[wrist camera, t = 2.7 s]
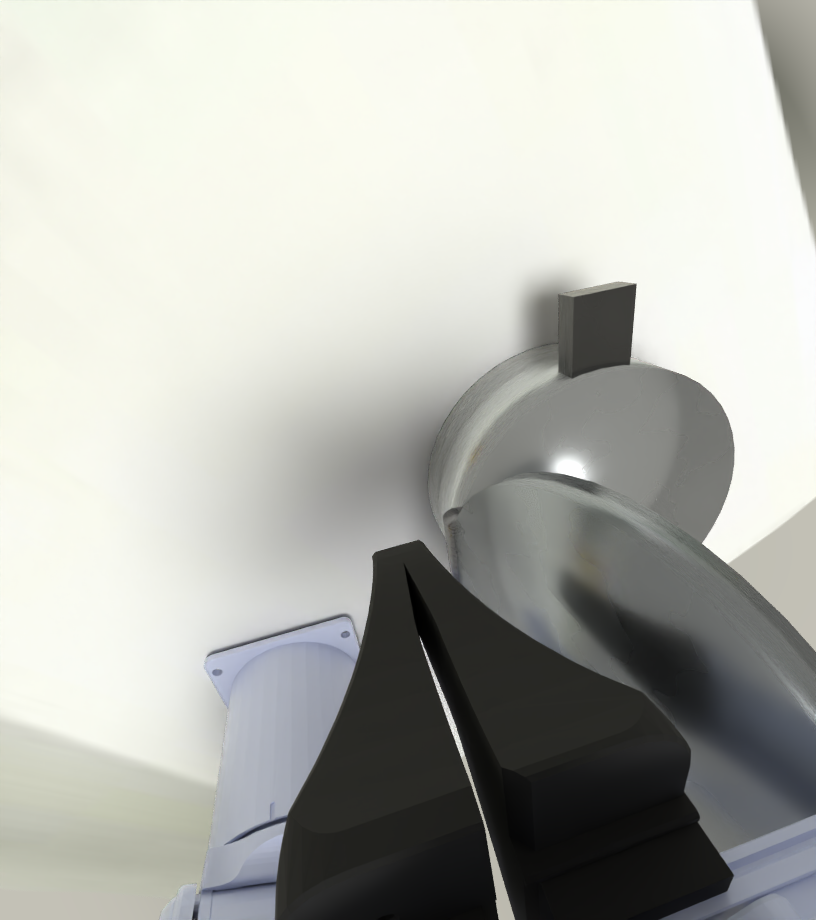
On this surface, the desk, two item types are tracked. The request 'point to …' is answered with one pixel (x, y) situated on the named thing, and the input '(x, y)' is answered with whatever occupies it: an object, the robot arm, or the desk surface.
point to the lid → (654, 635)
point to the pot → (590, 421)
